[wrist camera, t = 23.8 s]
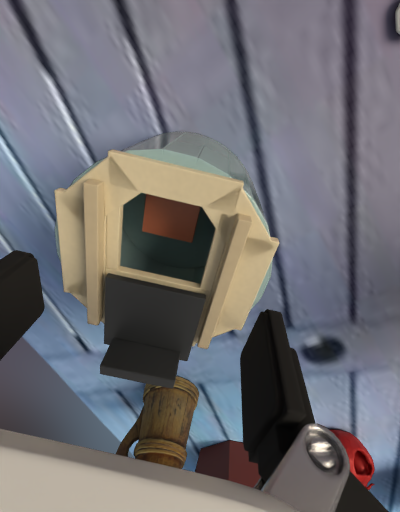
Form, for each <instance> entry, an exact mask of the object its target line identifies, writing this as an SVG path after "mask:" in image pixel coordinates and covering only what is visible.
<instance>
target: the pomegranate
mask: <svg viewBox="0 0 400 512" xmlns="http://www.w3.org/2000/svg"><path fill="white" fill-rule="evenodd" d="M330 431H331V432H333V433H334V434H335V435H336V437H337V438H338V439H339V440H340V441H341V443H342V444H343V446H344V448H345V449H346V452H347V454H348V457H349V462H350V471H351V472H352V473H353V474H354V476H355V477H356V478H357V479H358V480H359V481H360V482H361V483H362V484H363V485H364V486H365V487H366V486H367V483H368V482H369V481H370V479H371V478H372V475H373V474H374V470H375V469H374V463H373V459H372V457H371V455H370V454H369V453H368V451H367V449H366V448H365V447H364V446H363V444H362V443H361V442H360V441H359V440H358V439H357V438H356V437H355V436H353V435H352V434H350V433H349V432H344V431H341V430H330ZM372 485H374V484H373V483H371V484H370V485H369V486H368V487H366V488H367V489H368V490H369V489H370V488H371V486H372Z"/></svg>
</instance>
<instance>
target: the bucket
mask: <svg viewBox="0 0 400 512" xmlns="http://www.w3.org/2000/svg"><path fill="white" fill-rule="evenodd" d="M195 473H199V474H204V475H208V476H212V477H216V478H220V479H224V480H228V481H232V482H235V483H238V484H242V485H245V486H248V487H251V488H254V486H255V485H256V483H257V482H258V480H259V479H260V477H261V476H260V475H259V473H258V464H257V463H253V462H249V456H248V451H245V450H244V445H243V443H242V442H236V441H231V440H229V441H226V442H222V443H219V444H215V445H212V446H209V447H205V448H202V449H200V453H199V458H198V462H197V466H196V470H195Z"/></svg>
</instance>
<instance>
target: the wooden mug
mask: <svg viewBox="0 0 400 512" xmlns="http://www.w3.org/2000/svg"><path fill="white" fill-rule="evenodd" d="M198 397H199V392H198V389H197V388H196V386H195V385H194V384H192V383H191V382H190V381H188V380H186V379H184V378H181V377H178V376H176V380H175V384H174V388H173V389H171V388H166V387H161V386H156V385H151V384H147V383H146V385H145V388H144V394H143V402H144V406H143V408H142V411H141V413H140V416H139V418H138V419H137V421H136V422H135V424H134V425H133V427H132V428H131V429H130V431H129V432H128V433H127V435H126V436H125V438H124V439H123V441H122V442H121V444H120V446H119V448H118V450H117V452H116V454H117V455H121V456H126V457H128V451H129V448H130V447H131V445H132V444H133V443H134V442H135V441H137V440H138V439H139V441H138V443H137V444H136V446H135V449H134V456H135V459H139V460H143V461H148V462H152V463H157V464H161V465H165V466H170V467H174V468H179V469H182V468H183V466H184V463H185V460H186V457H187V452H186V450H185V449H186V444H187V440H188V435H189V431H190V426H191V421H192V417H193V412H194V410H195V408H196V406H197V402H198Z"/></svg>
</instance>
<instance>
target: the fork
mask: <svg viewBox="0 0 400 512" xmlns="http://www.w3.org/2000/svg"><path fill="white" fill-rule="evenodd" d="M395 20H396V32H397V33H399V34H400V3H399V6H398V8H397V10H396V12H395Z"/></svg>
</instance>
